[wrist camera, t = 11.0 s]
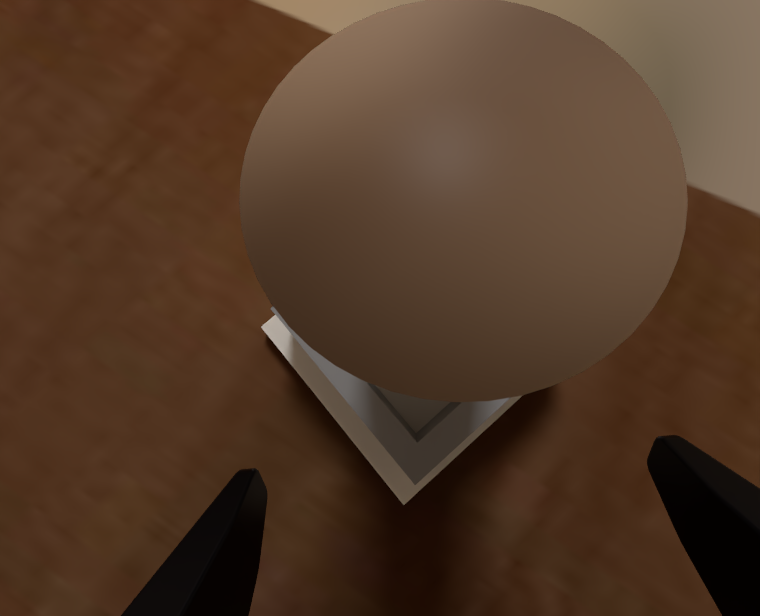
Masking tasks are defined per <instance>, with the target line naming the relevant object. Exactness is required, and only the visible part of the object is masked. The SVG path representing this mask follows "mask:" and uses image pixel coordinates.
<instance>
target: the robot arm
mask: <svg viewBox="0 0 760 616" xmlns="http://www.w3.org/2000/svg"><path fill="white" fill-rule="evenodd" d="M647 466H648V469H649V472H650V474H651V476H652V479H653V481H654V483H655V485H656V488H657V490H658V492H659V494H660V497H661V499H662V501H663V503H664V506H665V508H666V510H667V512H668V515H669V517H670V519H671V521H672V524H673V526H674V528H675V530H676V532H677V535H678V537H679V539H680V541H681V543H682V545H683V546H684V548H685V550H686V552H687V554H688V556H689V557H690V559H691V561H692V563H693V565H694V566H695V568H696V570H697V572H698V573H699V575H700V577H701V579H702V581H703V582H704V584H705V586H706V588H707V589H708V591H709V593H710V595H711V596H712V598H713V600H714V602H715V604H716V605H717V607H718V609H719V611H720V612H721V614H722V616H760V488H758V487H757V486H755V485H754V484H752V483H750V482H749V481H747V480H746V479H744V478H743V477H741V476H740V475H738V474H737V473H735V472H734V471H732V470H731V469H729V468H728V467H726V466H725V465H723V464H722V463H720V462H719V461H717V460H715V459H714V458H712V457H711V456H709V455H708V454H706V453H705V452H703V451H702V450H700V449H699V448H697V447H696V446H694V445H693V444H691V443H690V442H688V441H687V440H685V439H684V438H682V437H680V436H677V435H669V436H659V437H657V438H656V439H655V441H654V443H653V446H652V448H651V451H650V453H649V456H648V459H647ZM266 505H267V489H266V486H265V484H264V482H263V480H262V477H261V475H260V473H259V471H258V470H257V469H255V468H253V469H242V470H239V471H238V472H237V473H236V474H235V475H234V476H233V478H232V479H231V480H230V481H229V482H228V484H227V485H226V486H225V487H224V489H223V490H222V491H221V492H220V494H219V495H218V496H217V497H216V499H215V500H214V501H213V502H212V504H211V505H210V506H209V507H208V508H207V510H206V511H205V512H204V513H203V515H202V516H201V517H200V518H199V520H198V521H197V522H196V523H195V525H194V526H193V527H192V528H191V530H190V531H189V532H188V533H187V534H186V536H185V537H184V538H183V539H182V541H181V542H180V543H179V544H178V546H177V547H176V548H175V549H174V551H173V552H172V553H171V554H170V556H169V557H168V558H167V559H166V560H165V562H164V563H163V564H162V565H161V567H160V568H159V569H158V570H157V572H156V573H155V574H154V575H153V577H152V578H151V579H150V580H149V582H148V583H147V584H146V585H145V586H144V588H143V589H142V590H141V591H140V593H139V594H138V595H137V596H136V598H135V599H134V600H133V601H132V603H131V604H130V605H129V606H128V608H127V609H126V610H125V611H124V612H123V614H122V615H121V616H248V615H249V611H250V606H251V602H252V597H253V593H254V588H255V584H256V579H257V574H258V569H259V563H260V555H261V547H262V539H263V530H264V522H265V514H266Z"/></svg>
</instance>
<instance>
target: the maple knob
mask: <svg viewBox="0 0 760 616" xmlns="http://www.w3.org/2000/svg"><path fill="white" fill-rule="evenodd" d="M687 204H688V200H687V185H686V174H685V168H684V164H683V159H682V155H681V150H680V147H679V144H678V141H677V139H676V136H675V133H674V131H673V128H672V126H671V123H670V121H669V119H668V117H667V115H666V113H665V112H664V110H663V108H662V106H661V104H660V103H659V101H658V99H657V98H656V96H655V95H654V94H653V92H652V91H651V89H650V88H649V87H648V85H647V84H646V83H645V81H644V80H643V79H642V77H641V76H640V75H639V74H638V73H637V72H636V71H635V70H634V69H633V68H632V67H631V66H630V65H629V64H628V63H627V62H626V61H625V60H624V59H623V58H622V57H621V56H620V55H619V54H618V53H616V52H615V51H614V50H613V49H611V48H610V47H609V46H608V45H606V44H605V43H604V42H603V41H601V40H600V39H598V38H596V37H595V36H593V35H592V34H590V33H588V32H587V31H585V30H584V29H582V28H581V27H578V26H577V25H574V24H572V23H570V22H568V21H566V20H564V19H562V18H560V17H558V16H556V15H553V14H550V13H547V12H544V11H541V10H538V9H535V8H532V7H529V6H524V5H520V4H516V3H511V2H507V1H501V0H425V1H420V2H415V3H410V4H405V5H400V6H397V7H394V8H391V9H388V10H385V11H382V12H378V13H376V14H373V15H371V16H369V17H366V18H365V19H362V20H360V21H357V22H355V23H353V24H351V25H350V26H348V27H346V28H344V29H343V30H341V31H339V32H337V33H336V34H334V35H332V36H331V37H329V38H328V39H327V40H325V41H324V42H323V43H321V44H320V45H319V46H317V47H316V48H315V49H313V50H312V51H311V52H310V53H309V54H307V55H306V56H305V57H304V58H303V59H302V60H301V61H300V62H299V63H298V64H297V65H296V66H295V67H294V68H293V69H292V70H291V71H290V72H289V73H288V75H287V76H286V77H285V78H284V79H283V81H282V82H281V83H280V84H279V85H278V86H277V88H276V90H275V91H274V93H273V94H272V96H271V97H270V99H269V100H268V102H267V103H266V105H265V106H264V108H263V110H262V112H261V114H260V116H259V118H258V121H257V123H256V125H255V127H254V129H253V131H252V134H251V137H250V140H249V143H248V146H247V150H246V153H245V157H244V163H243V168H242V173H241V180H240V201H239V205H240V215H241V226H242V232H243V236H244V241H245V245H246V249H247V253H248V256H249V259H250V261H251V264H252V266H253V269H254V272H255V274H256V277H257V279H258V281H259V283H260V285H261V286H262V288H263V290H264V292H265V293H266V295H267V297H268V299H269V300H270V302H271V304H272V305H273V307H274V308H275V309H276V310H277V312H278V313H279V314H280V316H281V317H282V318H283V319H284V321H285V322H286V323H287V325H288V326H289V327H290V328H291V329H292V330H293V331H294V332H295V333H296V334H297V335H298V336H299V337H300V338H301V339H302V340H303V341H304V342H305V343H306V344H307V345H308V346H309V347H311V348H312V349H313V350H315V351H316V352H317V353H319V354H320V355H321V356H323V357H324V358H325V359H327V360H328V361H329V362H331V363H332V364H334V365H335V366H337V367H339V368H341V369H342V370H344V371H346V372H348V373H350V374H352V375H353V376H355V377H357V378H359V379H361V380H363V381H365V382H368V383H371V384H373V385H376V386H378V387H381V388H384V389H386V390H389V391H392V392H396V393H400V394H404V395H408V396H413V397H417V398H421V399H429V400H438V401H448V402H478V401H492V400H498V399H504V398H510V397H516V396H522V395H525V394H528V393H531V392H535V391H538V390H541V389H544V388H548V387H551V386H553V385H555V384H558V383H560V382H562V381H564V380H566V379H568V378H570V377H573V376H575V375H577V374H579V373H581V372H583V371H584V370H586V369H587V368H589V367H590V366H592V365H593V364H595V363H596V362H598V361H600V360H601V359H603V358H604V357H606V356H607V355H609V354H610V353H611V352H612V351H613V350H614V349H615V348H617V347H618V346H619V345H620V344H621V343H622V342H623V341H624V340H626V339H627V338H628V337H629V336H630V335H631V334H632V333H633V332H634V331H635V330H636V328H637V327H638V326H639V325H640V324H641V322H642V321H643V320H644V319H645V318H646V317H647V315H648V314H649V313H650V312H651V311H652V309H653V307H654V306H655V304H656V302H657V301H658V299H659V297H660V296H661V294H662V293H663V291H664V289H665V288H666V286H667V284H668V282H669V279H670V277H671V274H672V272H673V270H674V267H675V265H676V263H677V260H678V258H679V253H680V249H681V245H682V241H683V237H684V233H685V227H686V215H687Z"/></svg>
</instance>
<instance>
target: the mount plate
mask: <svg viewBox="0 0 760 616" xmlns="http://www.w3.org/2000/svg"><path fill="white" fill-rule="evenodd" d="M271 310H272V311H273V312H274V313H275V316H273V317H272V318H271V319H270V320H269V321H267V322H266V323H265V324H264V325H263V326H262V327H261V328H262V329H263V330H264V331H265V333H266V334H267V335H268V336H269V338H270V339H271V340H272V341H273V343H274V344H275V345H276V346H277V348H278V349H279V350H280V351H281V353H282V354H283V355H284V356H285V358H286V359H287V360H288V361H289V363H290V364H291V365H292V366H293V368H294V369H295V370H296V371H297V373H298V374H299V375H300V376H301V378H302V379H303V380H304V381H305V383H306V384H307V385H308V386H309V388H310V389H311V390H312V391H313V393H314V394H315V395H316V396H317V398H318V399H319V400H320V401H321V403H322V404H323V405H324V406H325V408H326V409H327V410H328V411H329V413H330V414H331V415H332V416H333V418H334V419H335V420H336V421H337V423H338V424H339V425H340V426H341V428H342V429H343V430H344V431H345V433H346V434H347V435H348V436H349V438H350V439H351V440H352V441H353V443H354V444H355V445H356V446H357V448H358V449H359V450H360V451H361V453H362V454H363V455H364V456H365V458H366V459H367V460H368V461H369V463H370V464H371V465H372V466H373V468H374V469H375V470H376V471H377V473H378V474H379V475H380V476H381V478H382V479H383V480H384V481H385V483H386V484H387V485H388V486H389V488H390V489H391V490H392V491H393V493H394V494H395V495H396V496H397V498H398V499H399V500H400V501H401V503H402V504H403V505H405V504H406V503H407V502H408V501H409V500H410V499H411V498H412V497H413V496H414V495H415V494H417V493H418V492H419V491H420V490H421V489H422V488H423V487H424V486H425V485H426V484H427V483H428V482H430V481H431V480H432V479H433V478H434V477H435V476H436V475H437V474H438V473H439V472H440V471H441V470H443V469H444V468H445V467H446V466H447V465H448V464H449V463H450V462H451V461H452V460H453V459H454V458H456V457H457V456H458V455H459V454H460V453H461V452H462V451H463V450H464V449H465V448H466V447H467V446H469V445H470V444H471V443H472V442H473V441H474V440H475V439H476V438H477V437H478V436H479V435H480V434H482V433H483V432H484V431H485V430H486V429H487V428H488V427H489V426H490V425H491V424H492V423H493V422H495V421H496V420H497V419H498V418H499V417H500V416H501V415H502V414H503V413H504V412H505V411H507V410H508V409H509V408H510V407H511V406H512V405H513V404H514V403H515V402H516V401H517V400H518V399H520V398H521V397H522V396H523V395H522V396H516V397H510V398H504V399H498V400H492V401H478V402H448V401H438V400H429V399H421V398H417V397H413V396H408V395H404V394H400V393H396V392H392V391H389V390H386V389H384V388H381V387H378V386H376V385H373V384H371V383H368V382H365V381H363V380H361V379H359V378H357V377H355V376H353V375H352V374H350V373H348V372H346V371H344V370H342V369H341V368H339V367H337V366H335V365H334V364H332V363H331V362H329V361H328V360H327V359H325V358H324V357H323V356H321V355H320V354H319V353H317V352H316V351H315V350H313V349H312V348H311V347H309V346H308V345H307V344H306V343H305V342H304V341H303V340H302V339H301V338H300V337H299V336H298V335H297V334H296V333H295V332H294V331H293V330H292V329H291V328H290V327H289V326H288V325H287V323H286V322H285V321H284V319H283V318H282V317H281V316H280V314H279V313H278V312H277V310H276V309H275V308H274V307H272V308H271Z"/></svg>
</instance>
